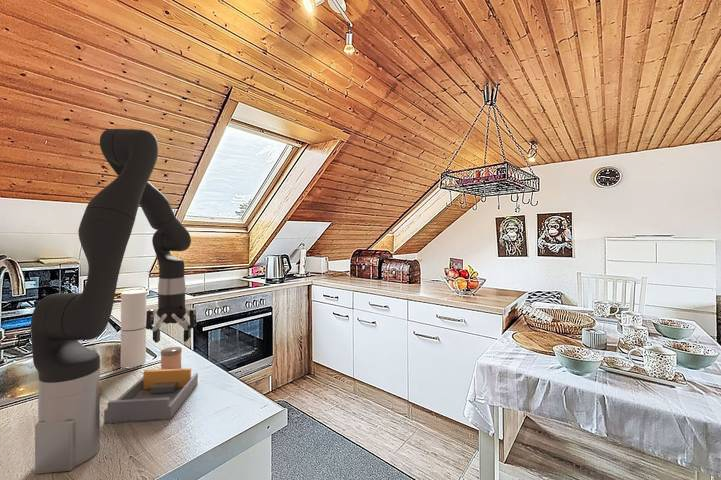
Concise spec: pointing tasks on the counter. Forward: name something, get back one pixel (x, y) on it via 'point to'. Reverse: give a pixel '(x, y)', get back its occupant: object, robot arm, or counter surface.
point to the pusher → (165, 379)
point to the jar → (171, 358)
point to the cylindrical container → (133, 328)
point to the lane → (147, 403)
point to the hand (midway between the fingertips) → (171, 341)
